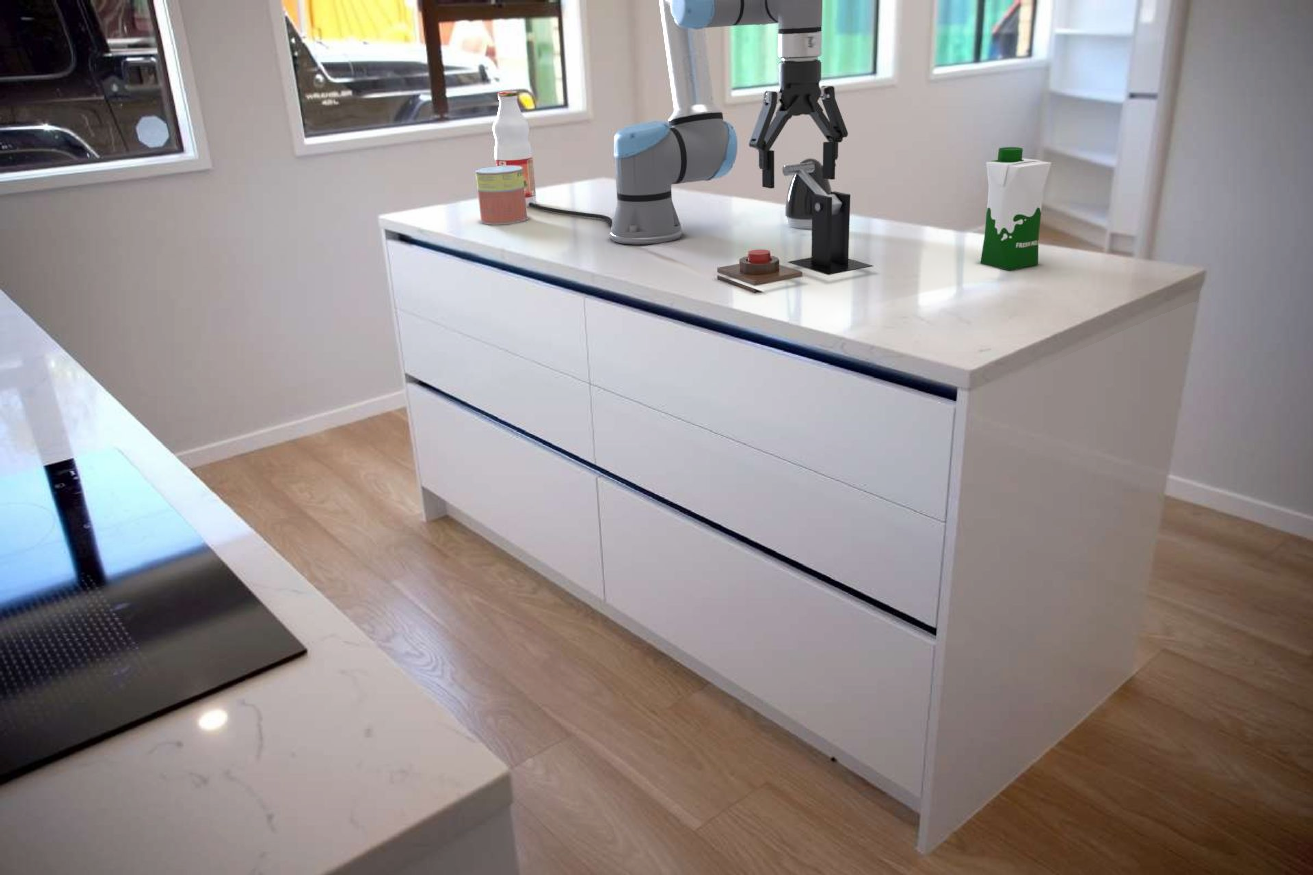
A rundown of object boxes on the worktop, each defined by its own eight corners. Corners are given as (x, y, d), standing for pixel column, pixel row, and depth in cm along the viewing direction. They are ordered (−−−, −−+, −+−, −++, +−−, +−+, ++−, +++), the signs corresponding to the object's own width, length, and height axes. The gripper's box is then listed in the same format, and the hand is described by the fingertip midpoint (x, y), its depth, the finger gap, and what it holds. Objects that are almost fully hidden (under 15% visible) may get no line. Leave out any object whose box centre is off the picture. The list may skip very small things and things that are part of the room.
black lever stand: (787, 269, 183) (788, 193, 178) (830, 261, 188) (832, 187, 182) (827, 282, 174) (829, 202, 168) (872, 273, 178) (876, 195, 172)
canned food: (536, 219, 239) (531, 168, 234) (493, 226, 233) (487, 174, 229) (514, 213, 248) (509, 164, 243) (473, 220, 242) (467, 169, 237)
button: (743, 261, 176) (743, 251, 175) (762, 258, 177) (762, 248, 177) (756, 265, 172) (755, 255, 172) (775, 262, 174) (775, 252, 173)
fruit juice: (544, 203, 258) (534, 90, 247) (518, 210, 252) (506, 93, 241) (519, 201, 264) (508, 89, 253) (492, 207, 257) (480, 93, 246)
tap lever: (780, 173, 182) (784, 162, 180) (807, 170, 184) (811, 158, 183) (819, 217, 175) (823, 206, 173) (846, 213, 177) (851, 201, 175)
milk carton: (1008, 256, 185) (1019, 145, 177) (1046, 265, 178) (1059, 149, 170) (972, 263, 181) (981, 150, 174) (1010, 272, 174) (1021, 155, 166)
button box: (717, 279, 179) (716, 257, 177) (763, 271, 183) (763, 249, 182) (754, 293, 169) (754, 270, 168) (802, 284, 173) (802, 261, 172)
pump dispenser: (833, 236, 207) (835, 161, 201) (783, 236, 209) (783, 162, 203) (835, 226, 216) (837, 154, 210) (787, 226, 218) (787, 155, 212)
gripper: (752, 64, 166) (753, 193, 174) (869, 55, 177) (865, 177, 185) (728, 64, 172) (730, 188, 180) (842, 55, 183) (840, 173, 191)
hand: (798, 183), depth 183 cm, fingers open, 13 cm apart
